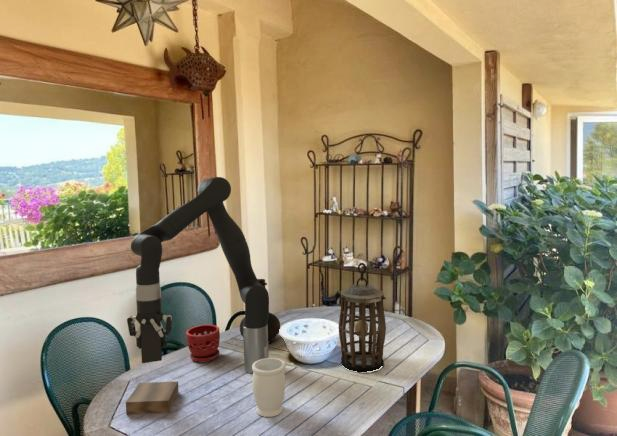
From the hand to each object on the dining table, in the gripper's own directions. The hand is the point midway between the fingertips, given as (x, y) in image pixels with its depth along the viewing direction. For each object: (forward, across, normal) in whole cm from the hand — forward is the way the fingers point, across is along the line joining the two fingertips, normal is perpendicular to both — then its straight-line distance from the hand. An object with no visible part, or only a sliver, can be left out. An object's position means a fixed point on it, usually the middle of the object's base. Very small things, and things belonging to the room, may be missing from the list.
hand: (151, 347), depth 144 cm
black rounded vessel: (+19, -32, -52) cm, 64 cm away
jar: (+19, -38, +8) cm, 43 cm away
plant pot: (+19, -10, -35) cm, 41 cm away
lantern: (+19, -73, -24) cm, 79 cm away
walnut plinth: (+19, 0, 0) cm, 19 cm away
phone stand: (+3, 0, 0) cm, 3 cm away
